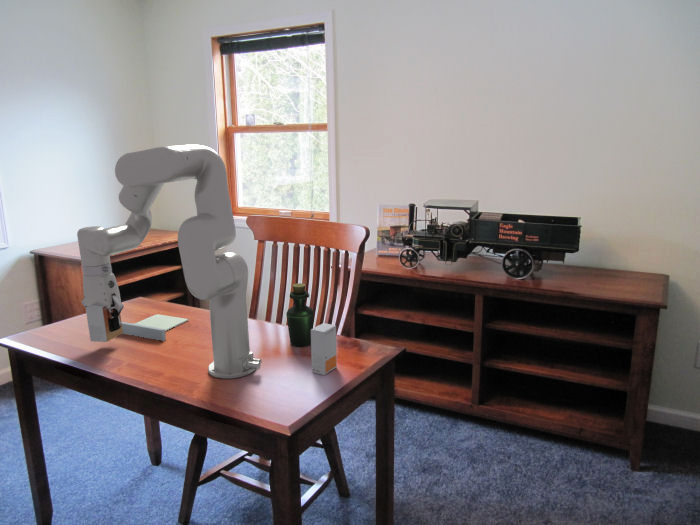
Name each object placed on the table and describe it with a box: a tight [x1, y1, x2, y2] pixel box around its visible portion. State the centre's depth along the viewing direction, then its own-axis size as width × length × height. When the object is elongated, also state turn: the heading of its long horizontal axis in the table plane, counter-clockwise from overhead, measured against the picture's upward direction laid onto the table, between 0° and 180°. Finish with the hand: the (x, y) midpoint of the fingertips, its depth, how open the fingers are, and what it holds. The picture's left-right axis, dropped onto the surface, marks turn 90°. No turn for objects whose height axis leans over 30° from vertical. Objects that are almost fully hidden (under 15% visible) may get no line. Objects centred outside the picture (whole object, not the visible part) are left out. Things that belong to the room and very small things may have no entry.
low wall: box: [121, 321, 167, 342], centre depth 173 cm, size 24×1×4 cm, turn 65°
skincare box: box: [310, 322, 337, 376], centre depth 145 cm, size 6×4×12 cm
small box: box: [85, 305, 123, 343], centre depth 162 cm, size 8×6×10 cm
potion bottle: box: [286, 282, 315, 348], centre depth 163 cm, size 8×8×18 cm
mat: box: [134, 313, 190, 332], centre depth 182 cm, size 14×14×1 cm
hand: (105, 328), depth 162 cm, fingers closed on small box, 6 cm apart
